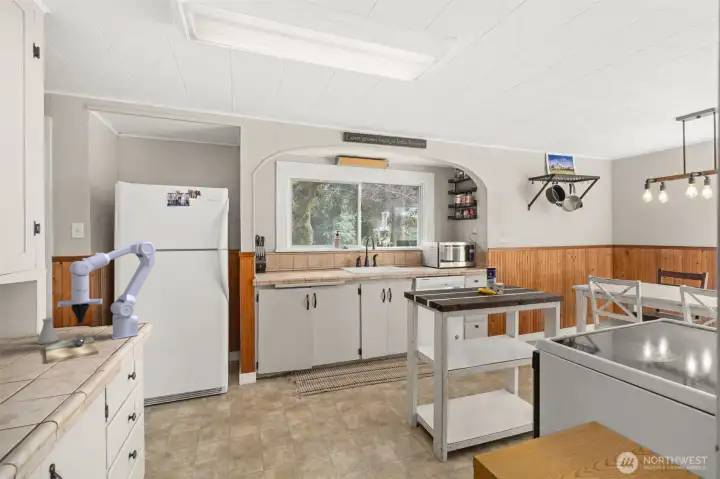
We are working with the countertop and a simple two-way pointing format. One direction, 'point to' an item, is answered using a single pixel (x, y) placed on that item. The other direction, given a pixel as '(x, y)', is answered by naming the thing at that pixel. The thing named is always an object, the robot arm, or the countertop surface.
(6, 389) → the countertop surface
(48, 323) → the flask
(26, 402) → the countertop surface
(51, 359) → the lock board
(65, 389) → the countertop surface
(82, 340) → the latch bar
